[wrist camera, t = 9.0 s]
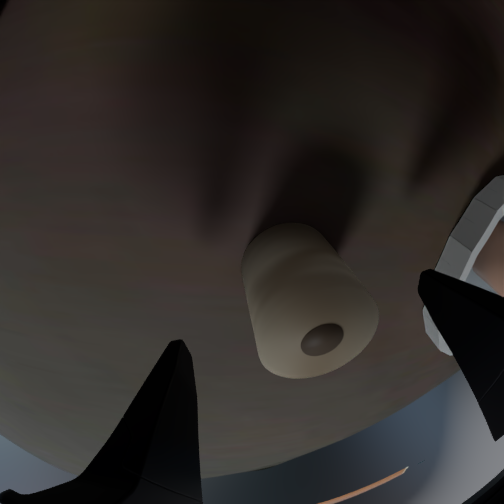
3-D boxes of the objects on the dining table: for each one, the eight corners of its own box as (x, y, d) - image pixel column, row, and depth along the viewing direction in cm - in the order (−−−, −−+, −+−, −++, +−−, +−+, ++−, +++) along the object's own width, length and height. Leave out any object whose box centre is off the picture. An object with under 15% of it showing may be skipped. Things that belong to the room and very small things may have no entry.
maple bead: (326, 213, 11) (385, 271, 7) (331, 289, 13) (372, 357, 9) (231, 235, 11) (245, 311, 7) (251, 310, 13) (269, 390, 9)
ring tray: (537, 170, 11) (554, 178, 10) (503, 303, 18) (514, 314, 17) (442, 185, 11) (469, 199, 9) (406, 361, 18) (417, 379, 16)
